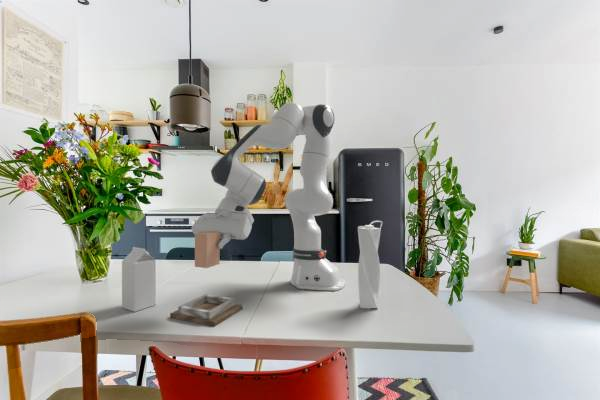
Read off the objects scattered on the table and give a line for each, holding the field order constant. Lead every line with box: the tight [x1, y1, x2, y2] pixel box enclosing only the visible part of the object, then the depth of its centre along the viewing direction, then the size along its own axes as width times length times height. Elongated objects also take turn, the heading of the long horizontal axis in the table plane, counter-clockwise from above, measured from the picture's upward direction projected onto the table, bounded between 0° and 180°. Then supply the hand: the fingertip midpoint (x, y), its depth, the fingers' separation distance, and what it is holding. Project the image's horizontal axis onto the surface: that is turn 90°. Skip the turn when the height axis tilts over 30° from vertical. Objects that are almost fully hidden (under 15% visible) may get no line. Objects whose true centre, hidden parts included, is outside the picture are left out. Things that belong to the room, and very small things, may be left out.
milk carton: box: [121, 246, 157, 312], centre depth 98 cm, size 7×7×19 cm
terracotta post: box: [194, 231, 221, 269], centre depth 93 cm, size 4×6×10 cm
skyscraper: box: [357, 219, 384, 310], centre depth 100 cm, size 8×8×28 cm
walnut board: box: [169, 293, 244, 327], centre depth 93 cm, size 16×14×3 cm
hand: (210, 247), depth 94 cm, fingers closed on terracotta post, 4 cm apart
